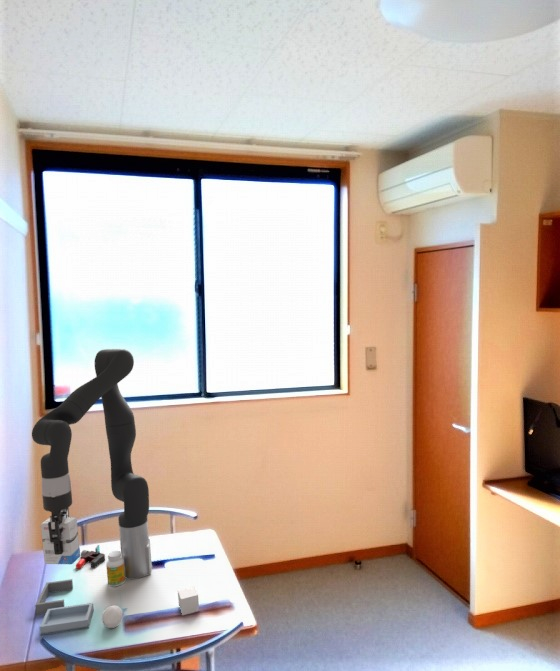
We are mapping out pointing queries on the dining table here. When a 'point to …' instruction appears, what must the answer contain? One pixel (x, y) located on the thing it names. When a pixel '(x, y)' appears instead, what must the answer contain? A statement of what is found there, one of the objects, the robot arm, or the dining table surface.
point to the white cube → (188, 600)
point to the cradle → (50, 587)
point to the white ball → (112, 616)
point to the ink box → (69, 543)
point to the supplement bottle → (115, 569)
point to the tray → (67, 619)
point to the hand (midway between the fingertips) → (61, 548)
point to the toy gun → (91, 558)
